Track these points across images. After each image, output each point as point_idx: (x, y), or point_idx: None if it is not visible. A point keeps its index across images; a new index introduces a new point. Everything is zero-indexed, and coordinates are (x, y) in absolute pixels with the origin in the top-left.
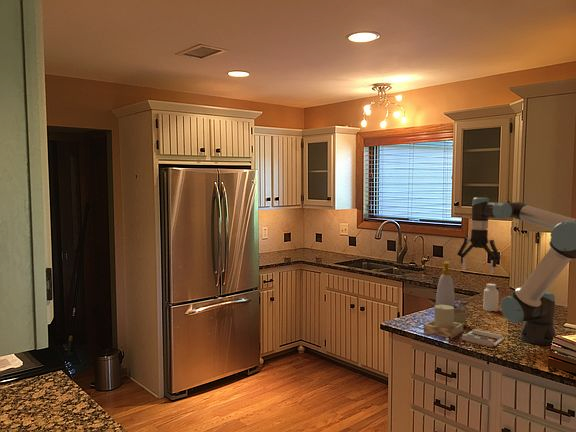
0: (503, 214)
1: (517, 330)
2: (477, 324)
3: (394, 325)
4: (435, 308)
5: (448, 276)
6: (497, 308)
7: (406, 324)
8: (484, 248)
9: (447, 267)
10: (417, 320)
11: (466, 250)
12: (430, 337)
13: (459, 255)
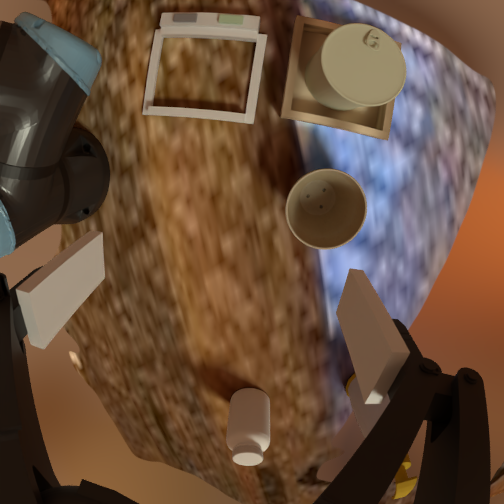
0: None
1: (132, 240)
2: (253, 237)
3: (475, 87)
4: (393, 44)
5: None
6: (230, 401)
7: (454, 112)
8: (4, 436)
9: (397, 474)
10: (437, 176)
11: (399, 443)
12: (355, 6)
13: (451, 377)
